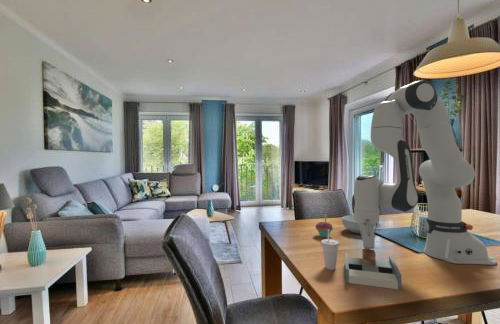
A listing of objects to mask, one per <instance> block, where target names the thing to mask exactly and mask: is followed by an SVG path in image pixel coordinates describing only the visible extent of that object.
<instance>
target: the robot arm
mask: <svg viewBox="0 0 500 324" xmlns="http://www.w3.org/2000/svg"><path fill="white" fill-rule="evenodd" d="M409 114H412V115H413V116H414V118H415V120H416V125H417V131H418V136H419V141H420V145H421V148H422V149H423V151H425V153H426V154H427V156H428V158H429V159H428V160H425V161H424V162H422V163H420V165H419V167H418V175H419V177H420V178H421V179H422V182H423V186H424V190H425V195H426V200H427V218H426V221H425V222H426V223H425V224H426V225H425V228H426V232H427V233H426V240H425V241H426V242H425V245H424V248H423V253H424V254H426V255H428V256H430V257H432V258H435V259H439V260H442V261H445V262H447V263H450V264H458V265H459V264H460V265H461V264H463V265H493V266H495V265H497V259H496V258H495V257H494V256H493V255H491V254H489V253H488V248H487V245H486V244H485V243H484V242H483V241H482V240H480V239H479V238H477V237H476V236H475V235H474V234H472V233H470V232H469V231H472V230H473V229H474V227H473V225H472V224H469V223H466V222H465V221H463V220H462V217H463V216H462V214H463V213H462V201H461V198H460V197H459V196H458V194H457V192H456V188H462V187H463V188H464V187H466V186H469V185H470V184H472V182H473V181H474V179H475V177H476V171H475V168H474V167H473V166H472V164H470V163H469V162H468V161H467V159H466V158H465V157H464V156H463V154H462V152H461V150H460V148H459V147H458V144H457V142H456V140H455V135H454V131H453V126H452V123H451V120H450V119H451V118H450V115H449V112H448V109H447V107H446V105H445V102H444V101H443V100H442V99H441V98H438V94H437V90H436V88H435V86H434V85H433V84H432V83H431V82H430V81H428V80H422V79H421V80H417V81H416V80H415V81H413V82H411V83H409V84H406V85H403V86H401V87H399V88H398V89H397V90H395V91H393V92H391V93H390V94H389V95H388V96H387V97H386V98H385V100H384V101H382V102H379V103H378V104H376V106H375V107H374V111H373V114H372V118H371V127H370V141H371V142H370V143H372V146H373V147H374V148H376V149H377V150H379V151H380V152H382V153H385V154H387V155H389V156H390V157H392V158H393V160H394V161H395V162H394V163H395V169H396V181H397V182H396V183H395V182H386V181H383V180H380V179H379V178H378V176H377V175H376V174H371V173H367V174H362V175H361V174H360V175H359V176H357V177H356V178H355V181H354V185H353V186H354V187H353V194H354V199H355V206H354V213H353V215H354V220H355V221H356V222H358V225H359V227H360V232H361V234H360V236H361V240H362V241H361V242H362V247H363V249H369V250H375V240H376V239H375V227H376V226H377V224H379V223H380V211H379V207H378V206H380V207H382V208H389V209H392V210H393V209H394V210H397V211H399V212H404V213H406V212H408V211H411V210H413V209H414V208H415V207H416V206H417V204H418V202H419V194H418V190H417V187H416V182H415V174H414V173H415V172H414V167H413V166H414V165H413V160H412V159H413V156H412V152H411V147H410V144H409V142H407V141H405V139H404V137H403V118H404V116H405V115H409ZM468 230H469V231H468Z"/></svg>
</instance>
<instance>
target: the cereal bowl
mask: <svg viewBox="0 0 500 324" xmlns="http://www.w3.org/2000/svg"><path fill="white" fill-rule="evenodd" d="M341 219H342V220H341V222H342V223H341V224H342V225H343V226H344V228H345V229H347V230H348V231H350V233H351V232H352V233H355V234H360V235H361V232H360V227H359V225H358V222H356V221H355V220H354V214H351V215H344V216H342V217H341Z"/></svg>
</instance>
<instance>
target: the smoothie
mask: <svg viewBox="0 0 500 324" xmlns="http://www.w3.org/2000/svg"><path fill="white" fill-rule="evenodd" d="M320 243H321V246H322V253H323V260H324V267H325V269H327V270H329V271H331V270H336V269H337V262H338V260H337V258H338V251H339V246H340V242H339V240H337V239H333V238H330V236H329V230H328V237H327V238H326V239H325V238H324V239H321V242H320Z"/></svg>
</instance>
